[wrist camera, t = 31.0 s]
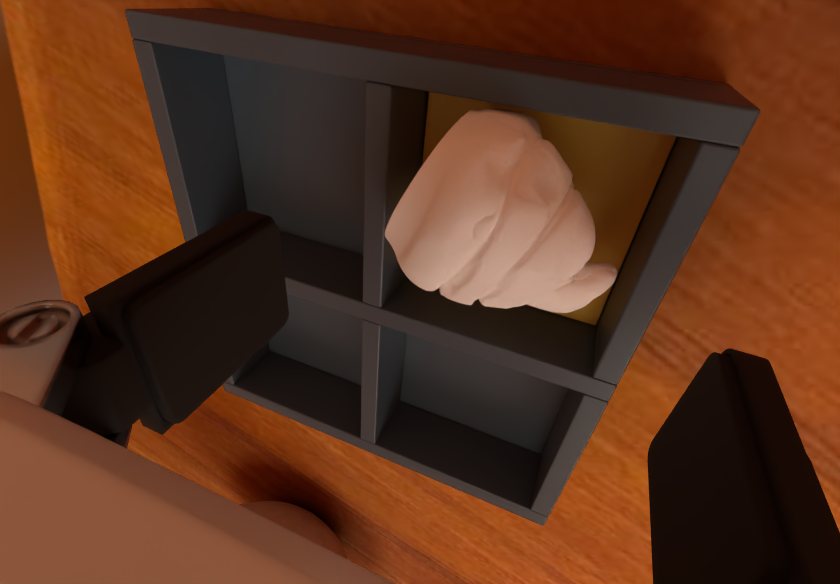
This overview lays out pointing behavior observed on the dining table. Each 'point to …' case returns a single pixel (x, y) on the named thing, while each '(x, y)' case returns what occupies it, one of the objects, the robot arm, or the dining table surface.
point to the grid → (375, 203)
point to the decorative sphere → (298, 523)
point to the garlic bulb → (498, 220)
